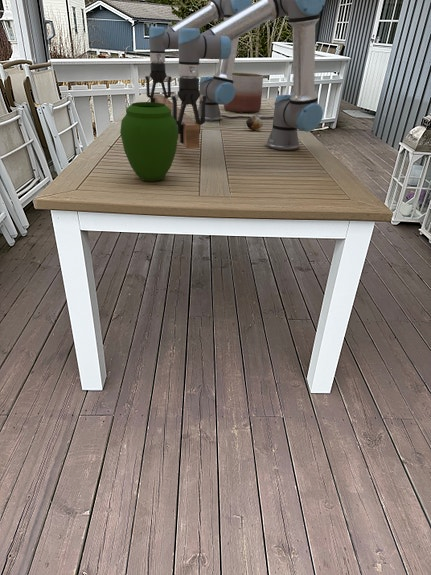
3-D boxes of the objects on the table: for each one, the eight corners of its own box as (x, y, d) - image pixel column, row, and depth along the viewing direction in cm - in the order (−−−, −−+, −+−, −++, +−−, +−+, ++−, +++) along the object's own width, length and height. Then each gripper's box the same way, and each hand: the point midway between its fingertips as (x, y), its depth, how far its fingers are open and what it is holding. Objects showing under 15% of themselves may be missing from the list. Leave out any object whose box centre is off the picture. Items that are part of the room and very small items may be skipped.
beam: (152, 110, 225) (152, 94, 221) (161, 110, 226) (161, 94, 222) (186, 148, 158) (186, 125, 153) (199, 147, 159) (199, 125, 154)
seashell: (261, 129, 230) (262, 114, 225) (263, 131, 225) (265, 115, 221) (244, 128, 228) (245, 113, 224) (246, 131, 224) (247, 115, 219)
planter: (264, 113, 274) (268, 77, 262) (227, 113, 270) (229, 75, 258) (255, 107, 295) (258, 73, 283) (220, 106, 291) (222, 72, 279)
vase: (131, 189, 135) (125, 110, 122) (118, 172, 150) (112, 100, 137) (186, 184, 142) (187, 109, 129) (169, 168, 157) (167, 99, 144)
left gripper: (140, 62, 202) (143, 113, 215) (176, 63, 207) (177, 112, 219) (138, 61, 208) (141, 110, 221) (173, 62, 213) (174, 110, 225)
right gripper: (166, 78, 146) (168, 145, 158) (215, 78, 150) (213, 143, 163) (162, 75, 152) (164, 140, 164) (209, 76, 156) (208, 139, 169)
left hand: (159, 111), depth 220 cm, fingers closed on beam, 5 cm apart
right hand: (188, 142), depth 164 cm, fingers closed on beam, 5 cm apart
